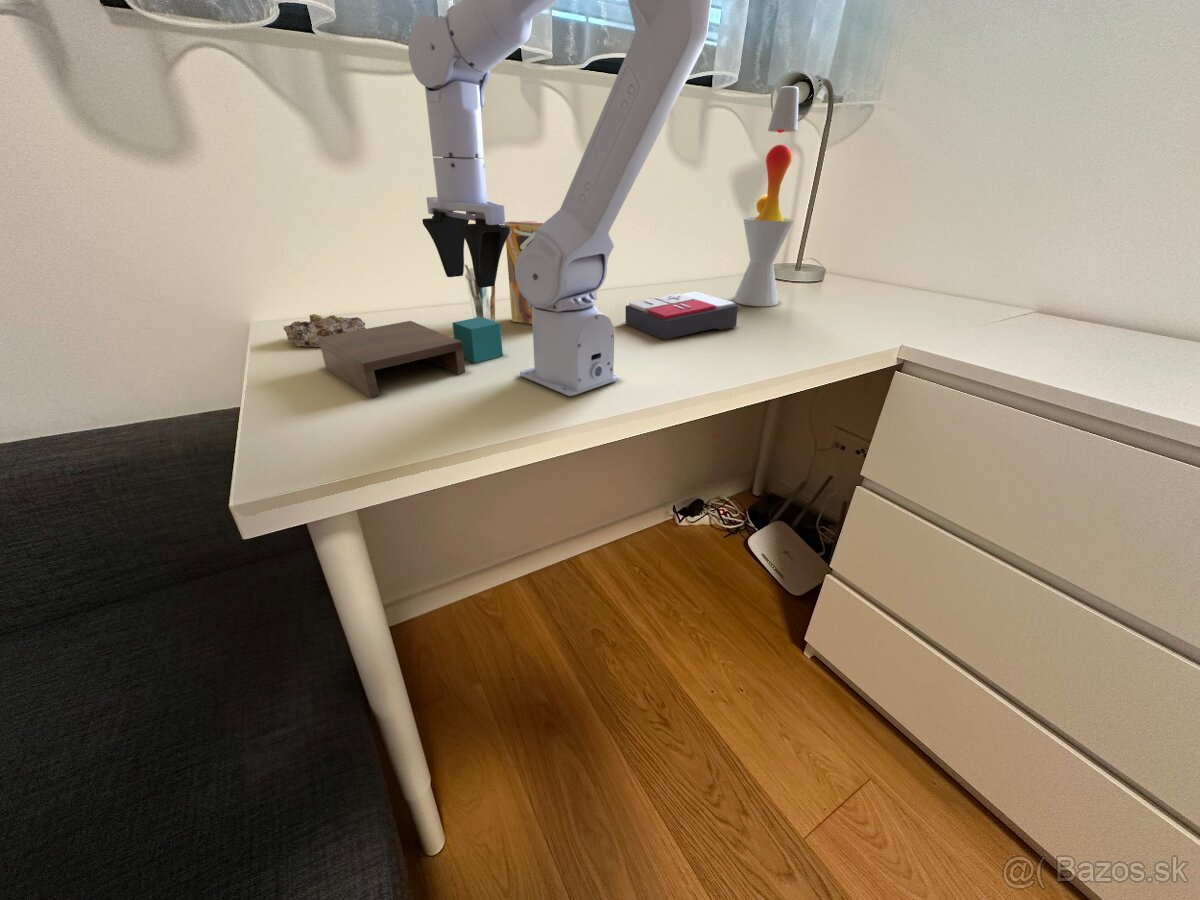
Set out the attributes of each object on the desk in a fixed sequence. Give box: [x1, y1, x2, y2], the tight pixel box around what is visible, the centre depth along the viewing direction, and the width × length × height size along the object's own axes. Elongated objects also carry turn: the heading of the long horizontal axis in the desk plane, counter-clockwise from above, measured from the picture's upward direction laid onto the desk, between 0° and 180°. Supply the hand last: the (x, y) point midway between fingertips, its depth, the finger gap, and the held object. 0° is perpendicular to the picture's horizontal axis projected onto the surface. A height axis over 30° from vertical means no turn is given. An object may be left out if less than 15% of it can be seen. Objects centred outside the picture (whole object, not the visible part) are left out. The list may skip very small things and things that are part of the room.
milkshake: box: [464, 264, 497, 322], centre depth 79 cm, size 5×5×10 cm
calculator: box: [625, 291, 739, 341], centre depth 84 cm, size 11×4×15 cm
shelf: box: [318, 320, 466, 399], centre depth 63 cm, size 13×12×4 cm
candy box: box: [503, 220, 546, 325], centre depth 81 cm, size 9×4×15 cm, turn 67°
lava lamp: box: [732, 85, 800, 307], centre depth 93 cm, size 9×9×35 cm
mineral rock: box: [283, 313, 367, 348], centre depth 74 cm, size 11×4×8 cm
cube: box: [452, 317, 504, 364], centre depth 68 cm, size 4×4×4 cm
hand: (470, 281), depth 65 cm, fingers open, 7 cm apart
